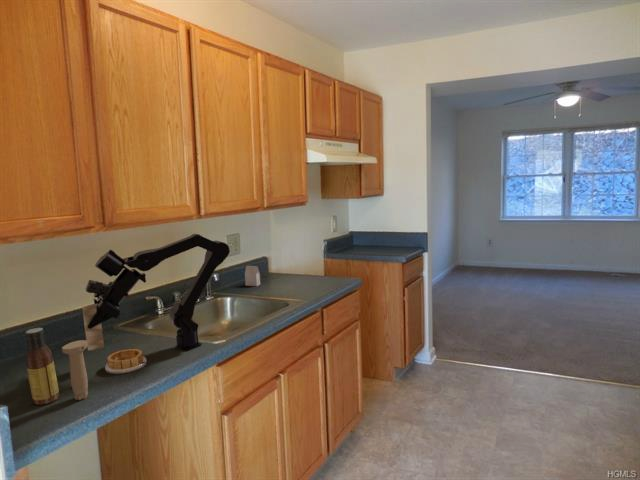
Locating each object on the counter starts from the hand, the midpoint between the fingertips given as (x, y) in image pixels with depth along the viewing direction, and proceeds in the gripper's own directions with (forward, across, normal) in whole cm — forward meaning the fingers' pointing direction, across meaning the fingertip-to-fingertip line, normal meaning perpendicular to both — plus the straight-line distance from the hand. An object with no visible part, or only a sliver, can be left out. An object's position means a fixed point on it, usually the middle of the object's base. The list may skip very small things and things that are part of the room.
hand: (88, 325), depth 146 cm
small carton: (-48, -70, +67) cm, 108 cm away
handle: (+13, +21, +7) cm, 26 cm away
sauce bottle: (+19, +17, +1) cm, 26 cm away
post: (+4, 0, +6) cm, 7 cm away
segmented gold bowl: (+3, +5, +16) cm, 17 cm away
